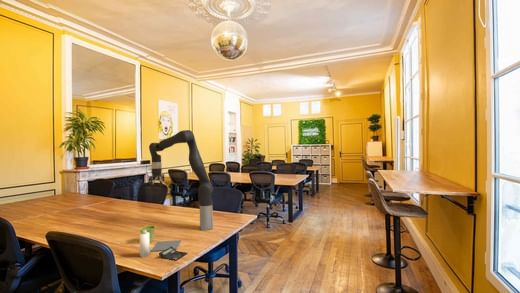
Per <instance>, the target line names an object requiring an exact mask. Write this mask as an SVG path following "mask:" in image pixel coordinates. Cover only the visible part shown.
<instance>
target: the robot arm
mask: <svg viewBox="0 0 520 293" xmlns="http://www.w3.org/2000/svg"><path fill="white" fill-rule="evenodd" d="M176 144H187V147H188V151H189V153H188V162H189V165H190V168H191V170H192V172H193V173H194V175H195V176H196V177H197V178H198V179H197V180H198V181H199V187H198V188H197V189H198V190H197V191H198V192H197V193H198V195H197V196H198V197H197V198H198V203H199V229H200V231H210V230H213V228H214V214H213V200H212V193H213V192H214V187H213V184H212V181H211V180H210V178H209V176H208V173H207V171H206V167H205V164H204V162H203V159H202V156H201V154H200V151H199V149H198V145H197V140H196V138H195V135H194V133H193V132H192V130H190V129H187V130H186V129H185V130H179V132H176V133H175V134H173V135H172V136H169V137H168V138H167V137H166V138H164V139H162V140H159V142H151V143H150V144H149V146H148V150H149V153H150V157H151V164H150V166H151V167H150V168H151V172H150V173H151V175H148V184H150V189H151V190H154V189H155V182H157V181H158V183H159V186H158V187H159V188H163V183H164V182H165V174H164V173H163V172H162V169H163V168H162V167H163V166H162V155H161V154H158V153H159V152H163V151H164V150H165V149H168V148H171V147H172V146H174V145H176ZM157 152H158V153H157Z"/></svg>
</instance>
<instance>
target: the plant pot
mask: <svg viewBox="0 0 520 293" xmlns="http://www.w3.org/2000/svg"><path fill="white" fill-rule="evenodd" d="M156 228H157V227H156V226H155V225H145V226H142V227H140V228H139V231H140V233H142V231H143V230H147V232H149V239H150V243H152V242H154V237H155V236H154V235H155V230H156Z"/></svg>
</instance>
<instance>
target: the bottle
mask: <svg viewBox="0 0 520 293" xmlns="http://www.w3.org/2000/svg"><path fill="white" fill-rule="evenodd" d="M138 238H139V257H140V258H147V257H149V256H150V255H151V254H150V253H151V249H150V243H151V242H150V239H149V232H147V230H143V231H142V233H141V232H140V233H139V236H138Z"/></svg>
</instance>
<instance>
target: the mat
mask: <svg viewBox="0 0 520 293" xmlns="http://www.w3.org/2000/svg"><path fill="white" fill-rule="evenodd" d="M181 242H182V240H181V239H180V240H179V239H178V240H162V241H161V240H160V241H157V242H156V243H155V245H154V247H152V249H150V253H154V252H155V253H156V252H162V251H164V250H166V249H168V248H170V247H173V248H174V249H175V250H176V251H177V249H178V247H179V246H180V244H181Z"/></svg>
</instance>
